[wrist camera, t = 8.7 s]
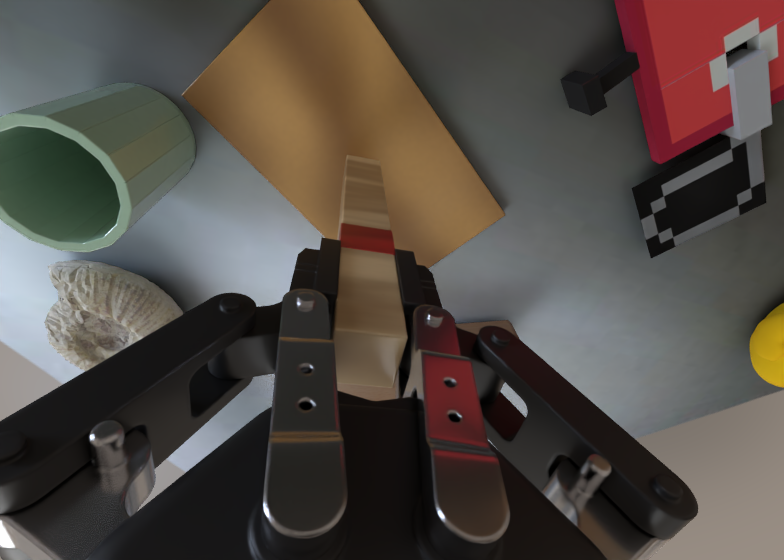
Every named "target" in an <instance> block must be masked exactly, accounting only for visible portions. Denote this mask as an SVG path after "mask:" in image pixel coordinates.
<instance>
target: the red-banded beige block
mask: <svg viewBox="0 0 784 560" xmlns="http://www.w3.org/2000/svg"><path fill="white" fill-rule="evenodd" d="M337 240H341V250H340V264H339V279H338V294H337V299H336V303H335V309H334V315H333V321H332V327H331V333H330V339H333V340H334V346H335V360H336V375H337V383H343V384H354V385H365V386H376V387H387V388H392V387H393V386H394V383H395V379H396V376H397V373H398V369H399V366H400V362H401V359H402V356H403V352H404V349H405V346H406V342H407V339H408V336H407V329H406V323H405V317H404V310H403V304H402V298H401V292H400V285H399V279H398V273H397V266H396V260H395V246H394V239H393V233H392V231H391V228H390V222H389V215H388V209H387V203H386V196H385V190H384V184H383V177H382V171H381V165H380V161H378V160H373V159H367V158H362V157H357V156H351V155H347V156H346V163H345V170H344V176H343V183H342V193H341V204H340V216H339V227H338V239H337Z"/></svg>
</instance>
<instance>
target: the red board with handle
mask: <svg viewBox="0 0 784 560" xmlns="http://www.w3.org/2000/svg"><path fill="white" fill-rule="evenodd" d="M614 1H615V5H616V10H617V14H618V18H619V22H620V27H621V31H622V35H623V39H624V44H625V48H626V52H625V53H624V54H622V55H621V56H620V57H618V58H617V59H616V60H614V61H613V62H611V63H610V64H609V65H607V66H606V67H604V68H603V69H602V70H600V71H599V72H598V73H596V74H595V75H594V74H589V73H584V72H579V71H574V72H572V73H571V74H569V75H567V76H566V77H564V78H562V79H561V83H562V86H563V89H564V92H565V95H566V98H567V101H568V104H569V107H570V108H572V109H575V110H577V111H580V112H583V113H585V114H588V115H591V116H592V115H594V114H595V113H597V112H599V111H601V110H602V109H604V108H606V107H607V105H606V101H605V97H604V94H605V93H606V92H608V91H609V90H610V89H612V88H613V87H614V86H616V85H617V84H619V83H620V82H621V81H623V80H624V79H625V78H627V77H628V76H630V75H631V74H632V78H633V82H634V86H635V91H636V95H637V99H638V103H639V108H640V112H641V116H642V121H643V125H644V129H645V133H646V138H647V142H648V146H649V150H650V155H651V159H652V161H654V162H657V163H659V164H662V163H664V162H666V161H668V160H670V159H671V158H673V157H675V156H677V155H679V154H681V153H683V152H685V151H687V150H688V149H690V148H692V147H694V146H696V145H698V144H700V143H702V142H704V141H705V140H707V139H709V138H711V137H713V136H715V135H717V134H722V135H726V136H729V137H728V138H726V139H725V140H723V141H721V142H719V143H717V144H715V145H713V146H711V147H709V148H707V149H705V150H704V151H702V152H700V153H698V154H696V155H694V156H692V157H690V158H688V159H686V160H685V161H683V162H681V163H679V164H677V165H675V166H673V167H671V168H669V169H667V170H666V171H664V172H662V173H660V174H658V175H656V176H654V177H652V178H650V179H648V180H647V181H645V182H643V183H641V184H639V185H637V186H635V187H633V188H632V191H633V194H634V198H635V202H636V206H637V209H638V213H639V217H640V220H641V224H642V228H643V231H644V235H645V239H646V242H647V246H648V250H649V253H650V257H651V258H653V257H655V256H657V255H659V254H661V253H663V252H665V251H667V250H670V249H672V248H674V247H676V246H678V245H680V244H682V243H684V242H686V241H688V240H690V239H692V238H694V237H696V236H698V235H700V234H703V233H705V232H707V231H709V230H711V229H713V228H715V227H717V226H719V225H721V224H723V223H725V222H727V221H729V220H731V219H733V218H736V217H738V216H740V215H742V214H744V213H746V212H748V211H750V210H752V209H754V208H756V207H758V206H760V205H762V204H764V203H766V193H765V181H764V168H763V156H762V144H761V131H760V130H761V129H763V128H765V127H767V126H769V125H771V124H772V113H771V105H773V104H775V103H777V102H779V101H781V100H783V99H784V0H614ZM746 41H747V49H740V50H738V51H737V52H735V53H733V54H731V55H730V56H728V57H726V53H727V52H728V51H730V50H732V49H734V48H735V47H737V46H739V45H741V44H742V43H744V42H746Z"/></svg>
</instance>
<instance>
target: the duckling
mask: <svg viewBox="0 0 784 560" xmlns="http://www.w3.org/2000/svg"><path fill="white" fill-rule="evenodd" d="M749 347H750V355H751V361H752V364H753V367H754V369H755V371H756V372H757V373H758V374H759V376H760V377H762V378H763V379H764V380H765V381H767V382H768V383H770V384H773V385H775V386H779V387H784V303H783V304H781V305H779V306H778V307H776V308H775V309H774V310H772V311H771V312H770V313H769V314H768V315H767V316H766V318H765V319H764V320H762V321H761V322H760V323H759V324H758V325H757V327H756V329H755V331H754V332H753V334H752V336H751V338H750V345H749Z"/></svg>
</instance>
